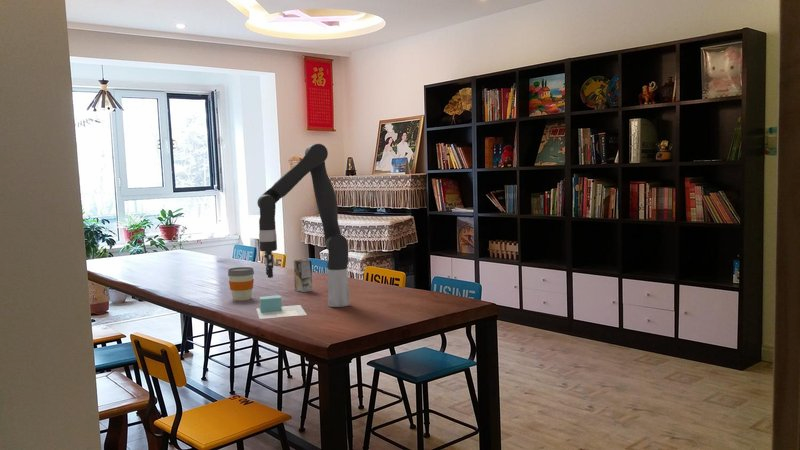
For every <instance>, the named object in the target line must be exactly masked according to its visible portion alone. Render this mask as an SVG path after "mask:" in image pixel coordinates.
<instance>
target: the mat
mask: <svg viewBox="0 0 800 450" xmlns="http://www.w3.org/2000/svg"><path fill="white" fill-rule="evenodd" d="M255 309H256V312H257V316H258V319H259V320H263V319H264V320H265V319H277V318H287V317H299V316H300V317H301V316H307V315H308V314H307V312H305V309H304V308H303V307H302V305H301V304H295V305H294V304H293V305H284V306H282V311H277V312H265V313H261V311H260V307H258V308H255Z"/></svg>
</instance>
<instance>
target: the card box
mask: <svg viewBox="0 0 800 450" xmlns="http://www.w3.org/2000/svg"><path fill="white" fill-rule="evenodd" d="M259 308H260V311H261V313H265V312H277V311H282V297H281V295H279V294H278V295H268V296H267V295H266V296H259Z"/></svg>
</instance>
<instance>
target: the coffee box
mask: <svg viewBox="0 0 800 450" xmlns="http://www.w3.org/2000/svg"><path fill="white" fill-rule="evenodd" d="M312 273H313V270H312V260H309V259H304V258H303V259H296V260H295V259H294V260H293V274H294V275H293V276H294V277H293V278H294V291H297V292H301V293H307V292H313V274H312Z"/></svg>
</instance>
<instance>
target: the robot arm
mask: <svg viewBox="0 0 800 450" xmlns="http://www.w3.org/2000/svg"><path fill="white" fill-rule="evenodd" d="M328 151H329V150H328V148H327V147H326V146H325V145H324V144H322V143H319V142H318V143H313V144H310V145H308V146H307V147H306V149H305V151H304V156H303V157H302V158H301V159H300V161H299V162H298V163H297V164H295V165H294V166H293V167H292V168H290V170H288V171H286V172H285V173H284V174H283V175H282V176H281V177H280V178H279V179H278V180H277V181H276V182H274V184H273V185H272V186H271V187H270V188H269V189H267V190H266V191H264V193H262V194H261V195H260V197H258V199H257V201H256V202H257V204H256V205H257V207H258V208H259V219H258V225H259V227H258V228H259V230H258V231H259V234H258V239H259V251H260V252H263V253H264V254H263V259H264V261H263V262H264V266H265V273H266V276H267V278H268V279H272V278H274V272H273V271H274V254H273V252H275V251H277V250H278V243H277V239H278V238H277V230H276V219H275V218H276V210H277V209H276V208H277V207H276V204H277V203H278V201H280V200H281V199H282V198H284V197H286V196H287V194H288V193H290V192H291V191H292V190H293V189H294V188H295V186H297V184H298V183H299V182H300V181H302V180H303V178H304V177H305V176H307V175H308V174H309V173H310V176H311V181H312V187H313V188H312V189H313V192H314V193H313V194H314V198H315V202H316V207H317V209H318V214H319V217H320V222H321V223H322V228H323V235H324V245H325V248H326V249H327V251H328V260H327V263H326V266H327V267H326V269H327V270H326V271H327V299H328V300H327V301H328V302H327V303H328V307H332V308H343V307H348V306H349V307H350V286H349V281H348V275H349V274H348V264H349V242H348V240H347V238H346V237H345V236H344V235H343V234H342V232H341V229H340V225H339V219H338V213H339V212H338V201H337V200H338V199H337V195H336V193H335V189H334V186H333V184H332V182H331V179H330V178H329V175H328V172H327V168H326V167H327V166H326V160H327V158H328V154H329V152H328Z"/></svg>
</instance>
